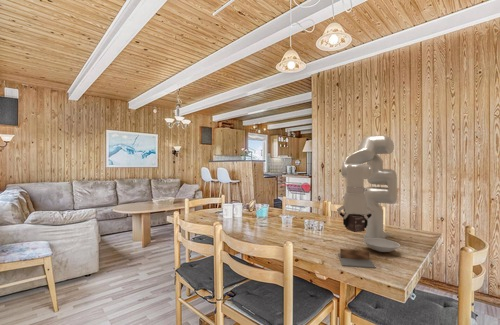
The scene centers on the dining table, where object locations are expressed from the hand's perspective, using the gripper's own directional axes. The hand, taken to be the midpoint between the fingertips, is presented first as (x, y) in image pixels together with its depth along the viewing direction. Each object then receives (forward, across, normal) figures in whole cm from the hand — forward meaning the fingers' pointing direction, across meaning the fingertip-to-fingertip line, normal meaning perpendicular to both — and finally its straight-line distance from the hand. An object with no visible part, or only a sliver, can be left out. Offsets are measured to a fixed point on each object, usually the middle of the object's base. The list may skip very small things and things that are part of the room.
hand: (355, 226), depth 120 cm
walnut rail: (+16, 0, -2) cm, 16 cm away
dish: (+17, -16, -15) cm, 27 cm away
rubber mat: (+16, 0, 0) cm, 16 cm away
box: (+2, 0, 0) cm, 2 cm away
